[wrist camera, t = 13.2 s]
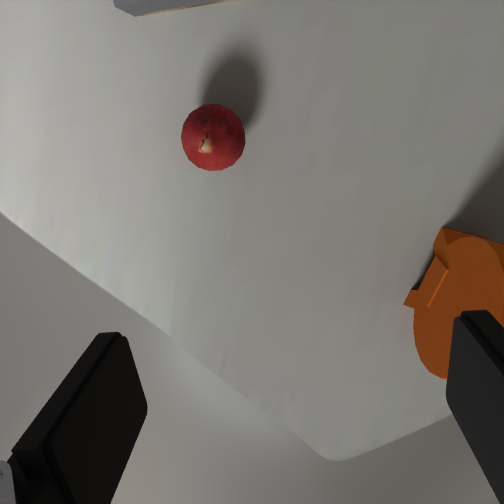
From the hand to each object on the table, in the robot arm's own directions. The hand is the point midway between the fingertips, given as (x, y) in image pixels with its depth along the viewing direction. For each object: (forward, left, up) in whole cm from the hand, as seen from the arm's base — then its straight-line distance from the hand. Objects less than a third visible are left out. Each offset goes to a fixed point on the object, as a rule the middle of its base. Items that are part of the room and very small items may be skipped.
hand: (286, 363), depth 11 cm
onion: (+6, -4, -31) cm, 31 cm away
